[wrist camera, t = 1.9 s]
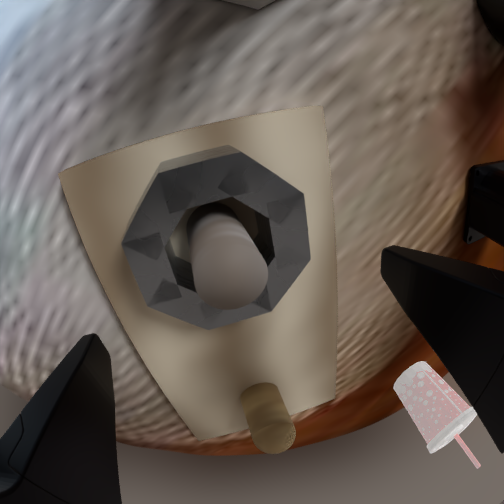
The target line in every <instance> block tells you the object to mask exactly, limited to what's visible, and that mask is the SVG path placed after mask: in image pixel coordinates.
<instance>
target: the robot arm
mask: <svg viewBox="0 0 504 504" xmlns="http://www.w3.org/2000/svg"><path fill="white" fill-rule="evenodd" d="M485 236H486V237H488V238H490V239H491V240H493V241H495V242H496V243H498V244H500V245H501V246H503V247H504V160H502V161H496V162H490V163H485V164H479V165H474V166H473V167H472V168H471V173H470V188H469V200H468V210H467V218H466V226H465V233H464V242H465V243H467V244H471V243H473V242H475V241H477V240H479V239H481V238H483V237H485ZM381 275H382V278H383V279H384V281H385V282H386V284H387V285H388V287H389V289H390V290H391V292H392V293H393V295H394V296H395V298H396V299H397V301H398V303H399V304H400V306H401V307H402V309H403V310H404V312H405V313H406V314H407V316H408V317H409V318H410V320H411V321H412V322H413V324H414V325H415V326H416V327H417V329H418V330H419V331H420V333H421V334H422V335H423V337H424V338H425V339H426V341H427V342H428V343H429V345H430V346H431V347H432V349H433V350H434V351H435V353H436V354H437V356H438V357H439V358H440V360H441V361H442V363H443V364H444V365H445V367H446V368H447V370H448V371H449V372H450V374H451V375H452V376H453V378H454V379H455V381H456V383H457V384H458V385H459V387H460V388H461V390H462V391H463V393H464V394H465V396H466V397H467V399H468V400H469V402H470V403H471V405H472V406H473V408H474V410H475V412H476V413H477V415H478V416H479V418H480V419H481V421H482V423H483V424H484V426H485V427H486V429H487V431H488V432H489V434H490V436H491V438H492V439H493V441H494V443H495V444H496V446H497V448H498V449H499V451H500V452H501V453H504V271H500V270H496V269H492V268H487V267H484V266H480V265H476V264H472V263H468V262H464V261H460V260H456V259H452V258H448V257H443V256H439V255H435V254H431V253H426V252H422V251H418V250H413V249H409V248H404V247H400V246H395V245H392V246H389V247H386V248H384V249H383V250H382V254H381ZM0 504H122V501H121V494H120V485H119V475H118V465H117V450H116V430H115V400H114V390H113V380H112V369H111V358H110V355H109V353H108V351H107V349H106V348H105V346H104V345H103V343H102V341H101V340H100V338H99V337H98V335H97V334H94V333H93V334H88V335H84V336H83V337H82V338H81V339H80V340H79V341H78V342H77V344H76V345H75V346H74V347H73V348H72V349H71V351H70V352H69V353H68V354H67V355H66V356H65V358H64V359H63V360H62V361H61V362H60V364H59V365H58V366H57V367H56V368H55V370H54V371H53V372H52V373H51V375H50V376H49V377H48V378H47V379H46V381H45V382H44V383H43V384H42V386H41V387H40V388H39V389H38V391H37V392H36V393H35V395H34V396H33V397H32V398H31V400H30V401H29V402H28V404H27V405H26V406H25V407H24V409H23V410H22V411H21V414H19V415H18V417H17V418H16V419H15V421H14V422H13V423H12V425H11V426H10V427H9V429H8V430H7V431H6V433H5V434H4V435H3V436H2V437H1V439H0ZM500 504H504V501H503V502H502V503H500Z"/></svg>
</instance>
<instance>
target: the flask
mask: <svg viewBox="0 0 504 504" xmlns="http://www.w3.org/2000/svg"><path fill="white" fill-rule="evenodd" d="M223 1H227V2H231V3H235V4H239V5H243V6H247V7H250V8H254V9H257V10H259V9H261V8H262V7H264V6H266V5H268V4H270V3H271V2H273V1H275V0H223Z"/></svg>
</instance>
